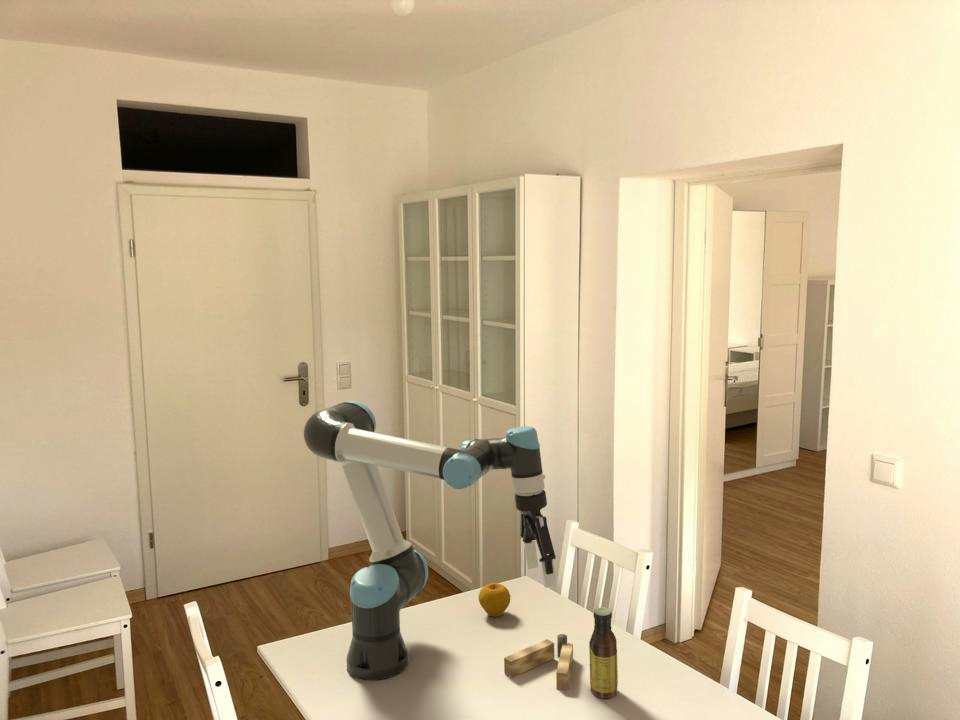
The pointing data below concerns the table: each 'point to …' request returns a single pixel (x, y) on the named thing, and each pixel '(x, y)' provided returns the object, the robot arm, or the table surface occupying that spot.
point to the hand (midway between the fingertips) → (541, 576)
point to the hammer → (564, 662)
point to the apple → (494, 599)
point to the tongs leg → (528, 658)
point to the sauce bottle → (603, 655)
